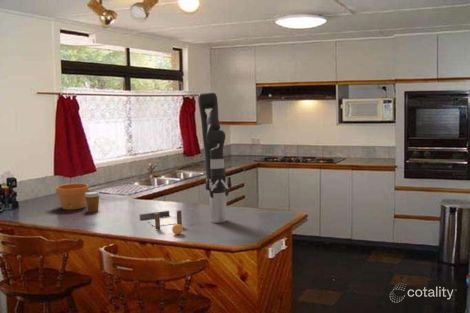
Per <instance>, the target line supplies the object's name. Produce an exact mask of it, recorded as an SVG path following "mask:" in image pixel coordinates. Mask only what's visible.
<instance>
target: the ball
mask: <svg viewBox="0 0 470 313" xmlns="http://www.w3.org/2000/svg"><path fill="white" fill-rule="evenodd" d="M171 230H172V233H173V234H174V235H176V236H177V235H178V234H179V235H180V234H182V233H183V230H184V229H183V225H182V226H181V225H180V224H173V226H172V228H171Z"/></svg>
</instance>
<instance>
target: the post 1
mask: <svg viewBox="0 0 470 313" xmlns="http://www.w3.org/2000/svg"><path fill="white" fill-rule="evenodd" d="M154 220H155V227H154V228H155V229H160V230H161V226H160V220H161V217H160V215H159V213H155V218H154ZM155 229H154V230H155Z"/></svg>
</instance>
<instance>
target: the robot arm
mask: <svg viewBox="0 0 470 313" xmlns="http://www.w3.org/2000/svg"><path fill="white" fill-rule="evenodd" d="M197 96H198V97H197V103H198V108H199V115H200V119H201V132H202V142H203V149H204V159H205V165H204V166H205V176H206V179H205V190H206V191H209V210H210V211H209V212H210V223H215V224H218V223H220V224H221V223H225V222H227V201H226V197H228V196H229V189H230V188H232V181H231V176H227V175H226V166H225V160H224V145H225V141H226V133H225V131H224V130H222V129H221V125H220V120H219V102H218V96H217V94H216V93H215V92H206V93H199V94H198V95H197ZM209 109H210V112H209V114H208V113H207V112H206V110H209ZM226 182H227V183H226ZM210 183H211V184H210Z"/></svg>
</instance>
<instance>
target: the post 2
mask: <svg viewBox="0 0 470 313" xmlns="http://www.w3.org/2000/svg"><path fill="white" fill-rule="evenodd" d="M182 218H183V217H182V210H181V209H179V210H176V223H177V224H180V225H181V226H182V227H183V222H182V221H183V219H182Z"/></svg>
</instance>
